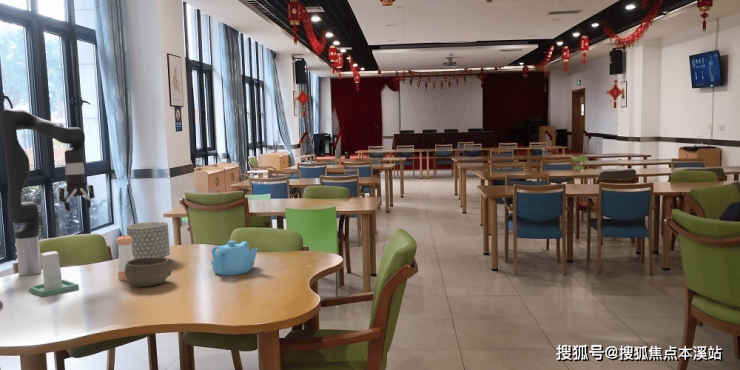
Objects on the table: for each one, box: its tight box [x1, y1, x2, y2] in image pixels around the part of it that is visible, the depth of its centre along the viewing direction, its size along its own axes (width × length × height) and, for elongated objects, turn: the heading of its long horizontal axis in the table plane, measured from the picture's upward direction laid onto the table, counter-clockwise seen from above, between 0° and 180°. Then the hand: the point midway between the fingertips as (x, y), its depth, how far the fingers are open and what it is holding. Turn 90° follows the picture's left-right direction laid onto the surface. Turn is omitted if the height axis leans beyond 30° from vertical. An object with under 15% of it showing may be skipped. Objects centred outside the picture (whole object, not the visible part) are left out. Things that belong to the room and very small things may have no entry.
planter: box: [125, 221, 171, 259], centre depth 297 cm, size 19×19×18 cm
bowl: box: [125, 257, 172, 288], centre depth 254 cm, size 17×18×10 cm
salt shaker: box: [115, 234, 134, 281], centre depth 265 cm, size 7×7×19 cm
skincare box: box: [40, 250, 63, 290], centre depth 249 cm, size 8×6×15 cm
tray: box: [28, 279, 80, 298], centre depth 250 cm, size 14×14×2 cm
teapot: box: [210, 240, 258, 276], centre depth 272 cm, size 19×19×14 cm
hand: (78, 209), depth 269 cm, fingers open, 8 cm apart
